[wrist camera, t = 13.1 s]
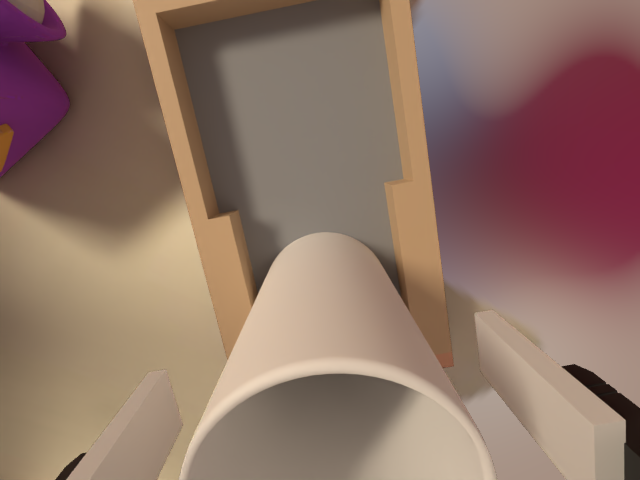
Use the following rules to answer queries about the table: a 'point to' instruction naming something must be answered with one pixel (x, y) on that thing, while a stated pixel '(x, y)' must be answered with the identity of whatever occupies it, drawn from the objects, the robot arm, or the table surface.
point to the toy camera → (27, 79)
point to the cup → (333, 382)
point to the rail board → (298, 141)
